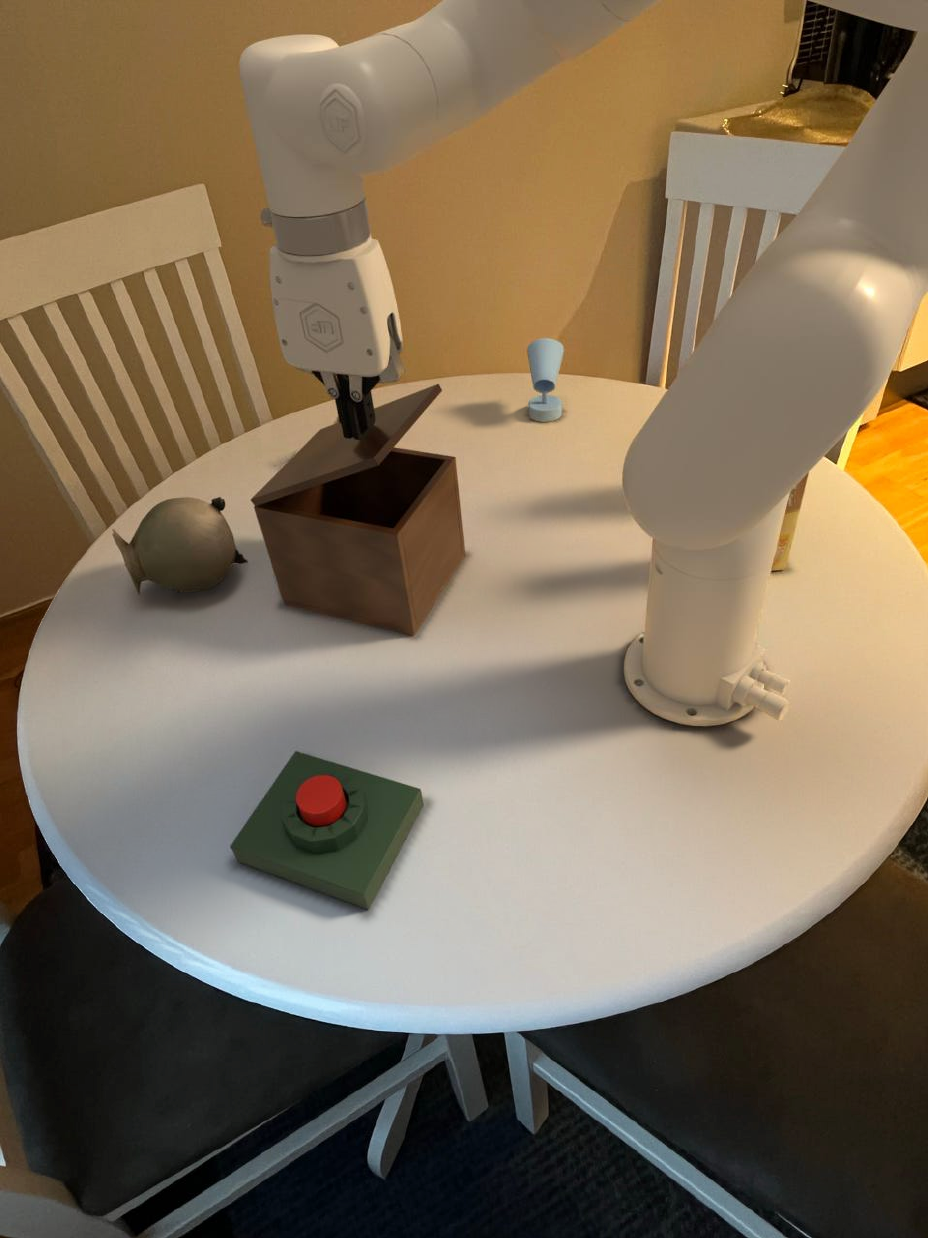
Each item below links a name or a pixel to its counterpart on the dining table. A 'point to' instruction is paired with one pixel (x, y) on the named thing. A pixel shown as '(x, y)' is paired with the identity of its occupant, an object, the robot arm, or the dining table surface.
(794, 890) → the dining table surface
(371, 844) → the control
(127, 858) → the dining table surface
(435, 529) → the chest
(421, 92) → the robot arm
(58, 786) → the dining table surface
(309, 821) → the button
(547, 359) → the spotlight
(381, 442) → the lid
